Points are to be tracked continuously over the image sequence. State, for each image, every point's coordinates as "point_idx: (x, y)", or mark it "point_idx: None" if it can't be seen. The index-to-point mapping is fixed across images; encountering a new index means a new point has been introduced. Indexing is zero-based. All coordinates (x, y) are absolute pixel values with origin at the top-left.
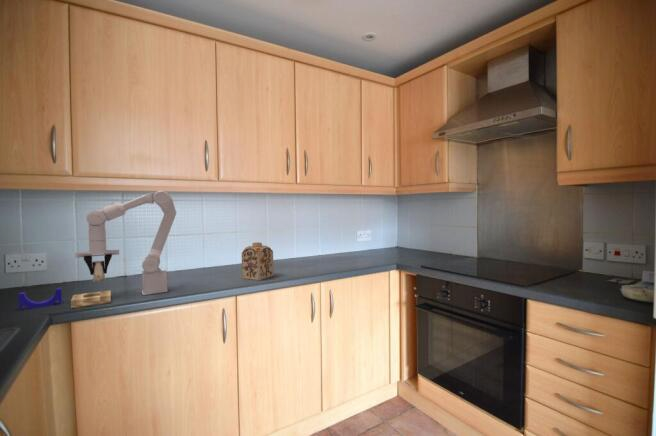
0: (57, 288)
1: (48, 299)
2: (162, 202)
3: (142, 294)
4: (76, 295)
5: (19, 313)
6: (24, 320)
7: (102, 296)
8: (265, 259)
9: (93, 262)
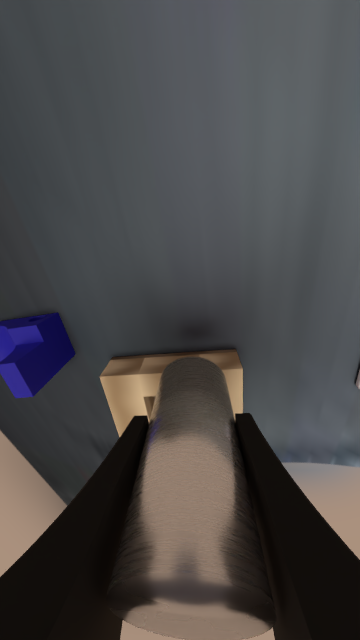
0: (5, 374)
1: (8, 336)
2: None
3: (357, 385)
4: (116, 392)
5: (3, 402)
6: (60, 464)
7: None
8: None
9: (135, 618)
